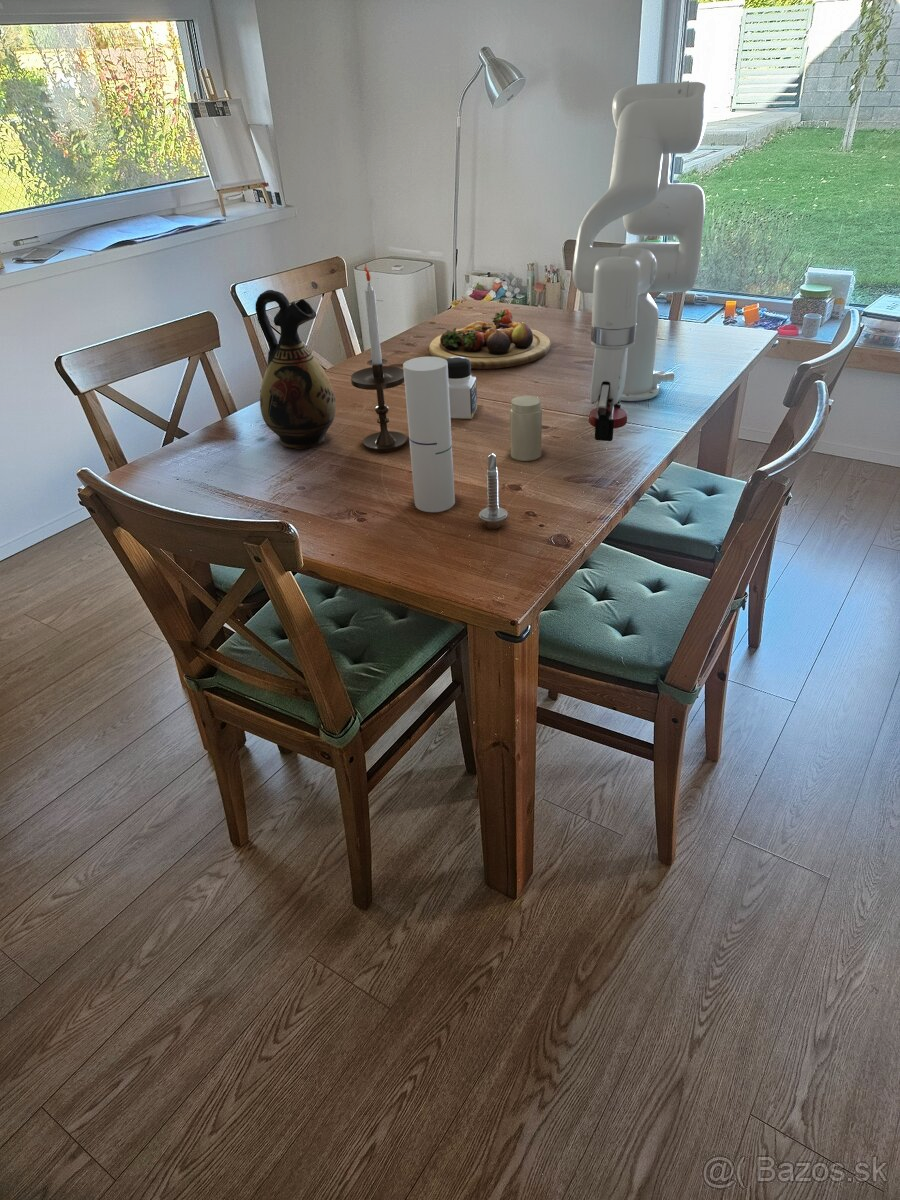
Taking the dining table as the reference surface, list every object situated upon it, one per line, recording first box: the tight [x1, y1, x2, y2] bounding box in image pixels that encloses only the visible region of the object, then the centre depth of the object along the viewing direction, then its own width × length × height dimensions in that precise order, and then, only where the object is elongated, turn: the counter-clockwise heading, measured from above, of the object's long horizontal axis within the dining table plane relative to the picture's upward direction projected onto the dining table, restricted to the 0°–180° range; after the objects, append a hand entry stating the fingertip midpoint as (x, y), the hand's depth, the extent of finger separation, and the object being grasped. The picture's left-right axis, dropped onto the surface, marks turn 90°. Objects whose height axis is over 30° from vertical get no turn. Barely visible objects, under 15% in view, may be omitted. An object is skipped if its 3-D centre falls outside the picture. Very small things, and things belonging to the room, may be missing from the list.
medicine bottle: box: [446, 356, 478, 420], centre depth 177 cm, size 7×7×12 cm
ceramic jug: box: [254, 289, 337, 450], centre depth 164 cm, size 17×15×30 cm
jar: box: [509, 395, 543, 462], centre depth 157 cm, size 6×6×11 cm
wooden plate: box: [428, 308, 551, 370], centre depth 214 cm, size 32×32×8 cm
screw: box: [478, 453, 509, 530], centre depth 134 cm, size 13×5×5 cm
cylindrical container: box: [402, 356, 456, 513], centre depth 138 cm, size 7×7×25 cm
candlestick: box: [350, 263, 408, 454], centre depth 159 cm, size 11×11×35 cm
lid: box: [588, 407, 628, 430], centre depth 149 cm, size 7×7×2 cm
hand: (607, 431), depth 151 cm, fingers closed on lid, 6 cm apart
